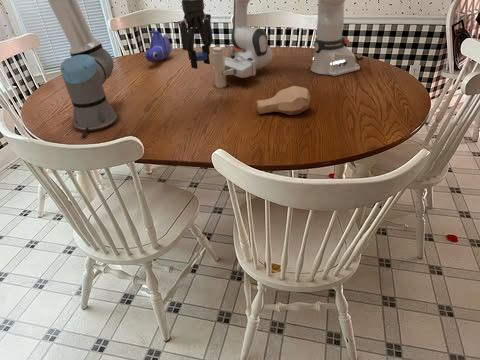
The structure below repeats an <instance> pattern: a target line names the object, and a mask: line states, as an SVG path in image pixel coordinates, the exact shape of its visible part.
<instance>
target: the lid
mask: <svg viewBox="0 0 480 360" xmlns="http://www.w3.org/2000/svg"><path fill="white" fill-rule="evenodd" d="M196 59H197V62H204V61H203V60H206V59H207V53H206V52H202V51H196Z"/></svg>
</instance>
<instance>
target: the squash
mask: <svg viewBox="0 0 480 360" xmlns="http://www.w3.org/2000/svg"><path fill="white" fill-rule="evenodd" d="M311 98H312V97H311V95H310V90H309V89H307V88H306V87H302V86H298V85H292V86H289V87H287V88H283V89H280V90H279V91H277V92H276V94H275V95H274V96H272V97H271V98H265V99H257V100H256V102H255V103H256V107H257V109H256V110H257V113H258V114H259V115H263V114H266V113H273V112H275V113H282V114H284V115H287V116H295V115H300V114H301V113H303V112H305V111H306V110H308V109H309V107H310V102H311Z"/></svg>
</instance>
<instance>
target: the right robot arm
mask: <svg viewBox="0 0 480 360" xmlns="http://www.w3.org/2000/svg"><path fill="white" fill-rule="evenodd" d="M250 2H251V0H233V20H232V23H233V24H232V30H231V36H230V37H231V38H230V39H231V43H232V46H233V45H234V47H235V48H237V49H246V52H244V53H241V54H238V55H236V56H234V58H231V57H228V56H227V57H225V56H224V57H225V70H224V71H222V75H224V76H225V75H226V76H235V77H238V78H241V79H246V78H248V77H253V76H256V74H257V71H258V70H259V69H262V68H264V67H266V66H268V65H269V64H270V63H271V62H272V60H273V56H274V55H273V50H272V49H271V47H270V46H269V41H268V39H269V38H268V35H267V32H266V30H264V29H263V28H260V27H252V26H251V27H250V26H248V23H247V19H248V6H249V3H250ZM345 2H346V0H318V1H317V21H316V22H317V23H316V35H315V36H316V37H315V39H314V54H313V57H312V63H311V66H310V71H311V72H312V73H315V74H319V75H327V76H331V77H336V76H340V75H344V74H348V73H352V72H356V71H360V70H361V65H359V64H358V63H357V62H356V61H357V60H359V61H360V60H363V58H364V57H363V56H361V57H358V56H357V55H356V54H354V52H352V51H351V49H349V48H348V47H347V46H345V45H349V44H350V42H351V41H350V39H348V38H344V37H343V29H344V22H345ZM212 71H213V72H214V67H213V68H212Z"/></svg>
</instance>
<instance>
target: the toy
mask: <svg viewBox="0 0 480 360" xmlns="http://www.w3.org/2000/svg"><path fill="white" fill-rule="evenodd" d="M149 33H151V34H152V36H151V38H150V43H149V44H150V45H149V48H148V49H145V52H144V58H145V59H146V60H147V61H148V62H150V63H151V65H152V67H155V62H160V61H162V60H166V59H167V58H168V57H169V55H170V54H171V52H172V46H171V42H170V39H169V38H168V37H167V35H165V34H162V33H161V32H160V31H159V30H150V31H149Z"/></svg>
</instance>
